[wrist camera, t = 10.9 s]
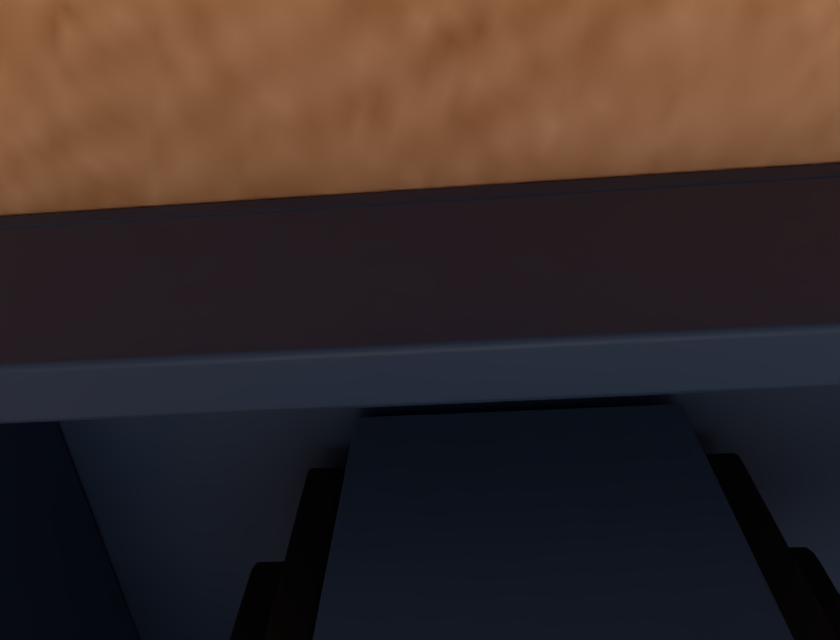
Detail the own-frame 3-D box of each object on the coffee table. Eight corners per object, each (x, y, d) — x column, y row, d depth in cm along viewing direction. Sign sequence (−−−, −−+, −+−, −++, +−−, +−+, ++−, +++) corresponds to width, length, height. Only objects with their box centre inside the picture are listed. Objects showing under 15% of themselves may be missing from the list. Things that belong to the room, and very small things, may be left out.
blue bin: (153, 704, 15) (59, 953, 11) (-36, 217, 10) (-311, 382, 6) (899, 691, 14) (1057, 958, 10) (1095, 144, 9) (1526, 290, 5)
